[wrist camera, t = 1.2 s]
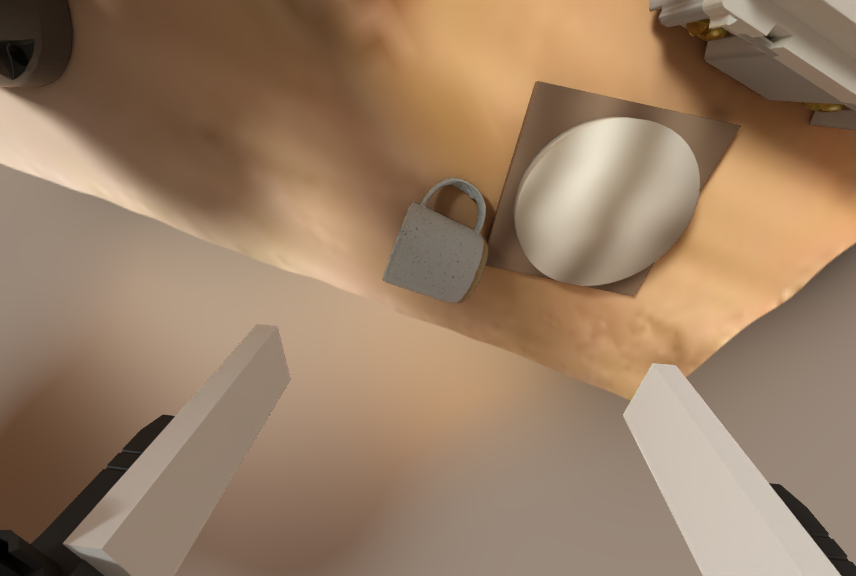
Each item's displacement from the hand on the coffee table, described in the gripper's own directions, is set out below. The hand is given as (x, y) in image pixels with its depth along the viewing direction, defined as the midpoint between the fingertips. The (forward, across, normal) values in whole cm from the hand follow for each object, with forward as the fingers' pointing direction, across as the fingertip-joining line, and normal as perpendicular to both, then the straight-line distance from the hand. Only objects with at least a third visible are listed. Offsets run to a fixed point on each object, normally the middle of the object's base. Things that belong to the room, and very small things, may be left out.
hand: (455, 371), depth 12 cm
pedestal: (+22, +12, +1) cm, 25 cm away
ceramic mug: (+23, -2, -3) cm, 23 cm away
